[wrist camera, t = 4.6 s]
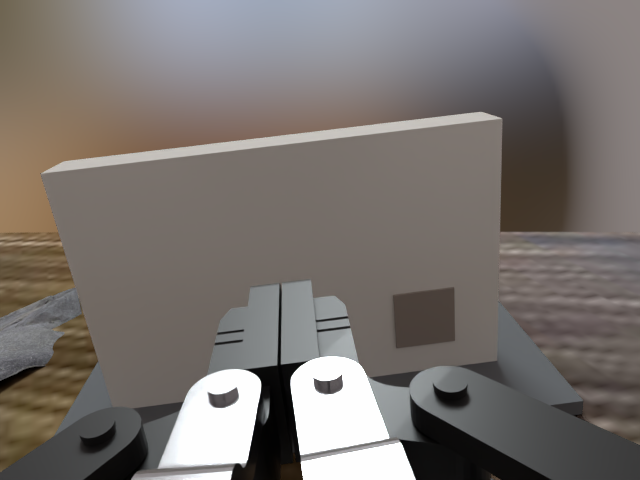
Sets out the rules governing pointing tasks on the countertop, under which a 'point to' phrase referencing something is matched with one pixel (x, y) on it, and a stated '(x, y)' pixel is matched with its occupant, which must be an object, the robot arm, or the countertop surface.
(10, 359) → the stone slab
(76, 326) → the countertop surface
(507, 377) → the rubber mat
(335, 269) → the flat white box
